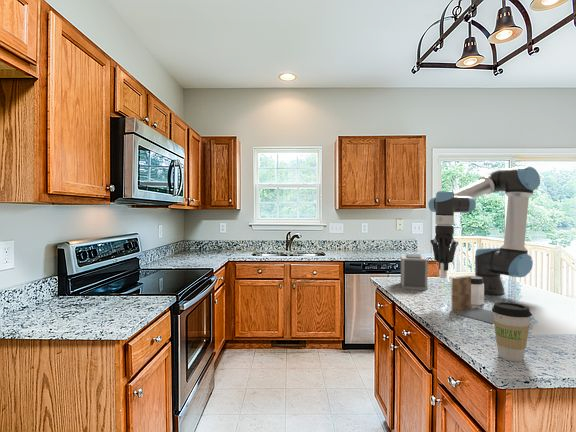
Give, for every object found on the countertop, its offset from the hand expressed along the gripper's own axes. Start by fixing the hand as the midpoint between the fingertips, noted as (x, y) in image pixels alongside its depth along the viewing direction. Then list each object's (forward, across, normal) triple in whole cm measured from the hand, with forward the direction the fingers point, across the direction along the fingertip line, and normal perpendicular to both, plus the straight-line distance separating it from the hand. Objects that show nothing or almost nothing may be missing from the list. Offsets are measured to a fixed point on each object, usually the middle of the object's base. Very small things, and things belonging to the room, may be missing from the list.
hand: (443, 277), depth 160 cm
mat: (+13, +18, 0) cm, 22 cm away
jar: (+13, +4, +16) cm, 20 cm away
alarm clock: (+13, -34, +21) cm, 43 cm away
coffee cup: (+13, +47, -33) cm, 59 cm away
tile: (+13, +8, 0) cm, 15 cm away
